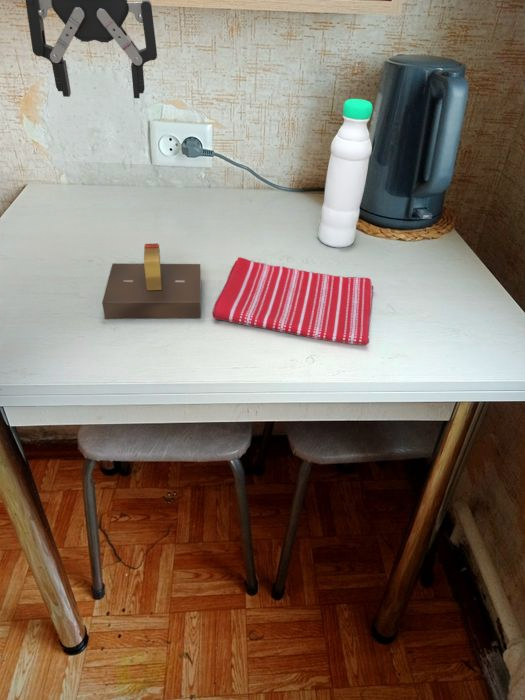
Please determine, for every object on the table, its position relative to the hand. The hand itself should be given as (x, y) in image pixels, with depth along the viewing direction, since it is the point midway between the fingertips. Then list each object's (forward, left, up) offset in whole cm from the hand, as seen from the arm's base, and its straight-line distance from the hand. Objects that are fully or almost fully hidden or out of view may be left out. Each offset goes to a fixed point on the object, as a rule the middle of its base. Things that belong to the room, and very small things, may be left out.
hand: (102, 96), depth 65 cm
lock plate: (+5, -4, -28) cm, 29 cm away
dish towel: (+27, -6, -28) cm, 39 cm away
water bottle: (+38, +16, -28) cm, 50 cm away
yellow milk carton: (+5, -4, -25) cm, 26 cm away
